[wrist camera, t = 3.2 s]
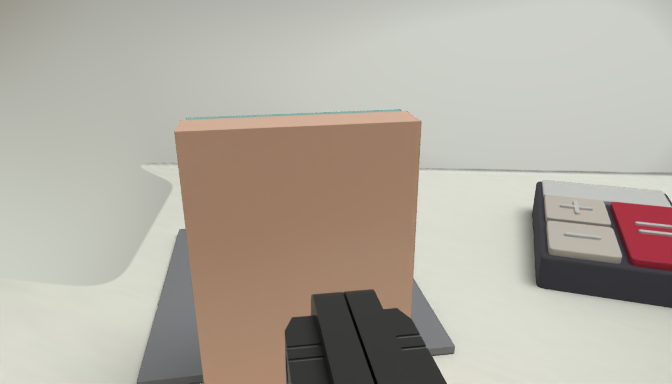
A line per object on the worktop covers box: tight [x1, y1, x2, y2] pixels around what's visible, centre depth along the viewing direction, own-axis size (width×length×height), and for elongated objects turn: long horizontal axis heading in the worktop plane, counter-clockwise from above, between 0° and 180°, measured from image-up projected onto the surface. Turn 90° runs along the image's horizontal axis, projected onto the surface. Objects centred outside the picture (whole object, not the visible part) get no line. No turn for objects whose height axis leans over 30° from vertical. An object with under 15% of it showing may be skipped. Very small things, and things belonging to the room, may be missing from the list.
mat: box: [137, 229, 455, 384], centre depth 38 cm, size 20×18×1 cm
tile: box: [174, 110, 421, 384], centre depth 25 cm, size 2×10×15 cm, turn 100°
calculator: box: [532, 180, 672, 308], centre depth 42 cm, size 11×4×15 cm
